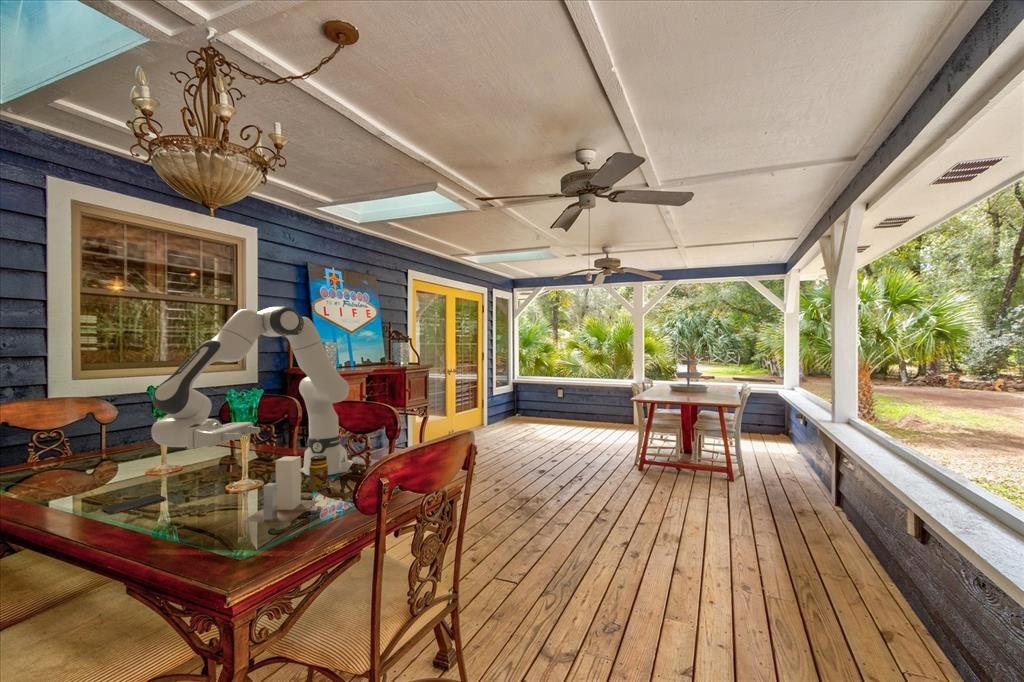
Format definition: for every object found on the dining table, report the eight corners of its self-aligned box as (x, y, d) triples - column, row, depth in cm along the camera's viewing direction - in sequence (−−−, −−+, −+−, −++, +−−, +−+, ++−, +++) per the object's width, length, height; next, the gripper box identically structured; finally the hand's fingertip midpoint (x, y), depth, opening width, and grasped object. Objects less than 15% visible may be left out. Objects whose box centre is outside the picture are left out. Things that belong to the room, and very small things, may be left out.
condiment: (326, 493, 162) (326, 458, 162) (300, 494, 161) (300, 459, 161) (331, 487, 169) (331, 453, 169) (306, 488, 168) (306, 454, 168)
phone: (167, 498, 155) (110, 511, 142) (167, 501, 155) (110, 515, 142) (156, 494, 159) (100, 507, 146) (156, 497, 159) (100, 510, 146)
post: (268, 517, 137) (268, 482, 137) (277, 517, 137) (277, 483, 137) (263, 520, 135) (263, 485, 135) (272, 520, 134) (272, 485, 134)
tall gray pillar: (284, 503, 148) (284, 456, 149) (300, 503, 148) (300, 456, 148) (275, 509, 143) (275, 460, 143) (292, 509, 143) (292, 460, 143)
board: (276, 503, 152) (276, 500, 152) (319, 503, 152) (319, 500, 152) (242, 524, 134) (242, 521, 134) (290, 525, 134) (290, 521, 134)
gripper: (228, 436, 157) (268, 436, 157) (183, 450, 137) (229, 450, 136) (228, 417, 157) (268, 417, 157) (183, 428, 137) (229, 429, 136)
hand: (250, 433), depth 146 cm, fingers open, 8 cm apart
